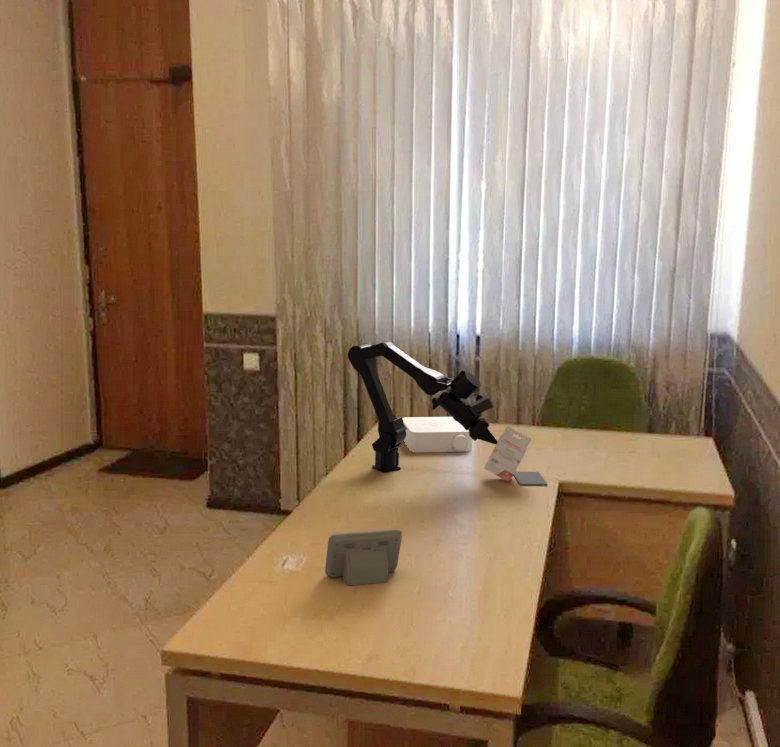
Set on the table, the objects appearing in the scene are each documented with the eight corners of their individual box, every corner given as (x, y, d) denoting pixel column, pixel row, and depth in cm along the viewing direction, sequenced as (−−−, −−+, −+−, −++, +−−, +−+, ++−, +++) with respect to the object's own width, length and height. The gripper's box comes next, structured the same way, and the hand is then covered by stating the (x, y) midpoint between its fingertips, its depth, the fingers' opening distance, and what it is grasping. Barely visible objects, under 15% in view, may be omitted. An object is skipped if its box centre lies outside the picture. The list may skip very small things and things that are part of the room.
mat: (519, 485, 254) (520, 483, 254) (512, 473, 266) (512, 471, 266) (547, 485, 255) (547, 483, 255) (538, 473, 267) (538, 471, 266)
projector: (411, 454, 284) (412, 433, 283) (399, 436, 306) (400, 417, 305) (474, 453, 288) (475, 432, 287) (458, 435, 310) (459, 416, 308)
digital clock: (399, 568, 194) (400, 522, 192) (402, 586, 185) (404, 537, 183) (325, 569, 192) (325, 522, 190) (325, 586, 184) (325, 538, 182)
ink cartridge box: (511, 478, 261) (534, 436, 257) (509, 482, 256) (532, 439, 253) (485, 464, 262) (508, 422, 259) (483, 468, 258) (506, 425, 254)
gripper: (480, 392, 245) (521, 428, 247) (471, 382, 263) (509, 416, 265) (453, 422, 246) (494, 458, 248) (446, 410, 264) (484, 443, 266)
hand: (496, 442), depth 257 cm, fingers closed
